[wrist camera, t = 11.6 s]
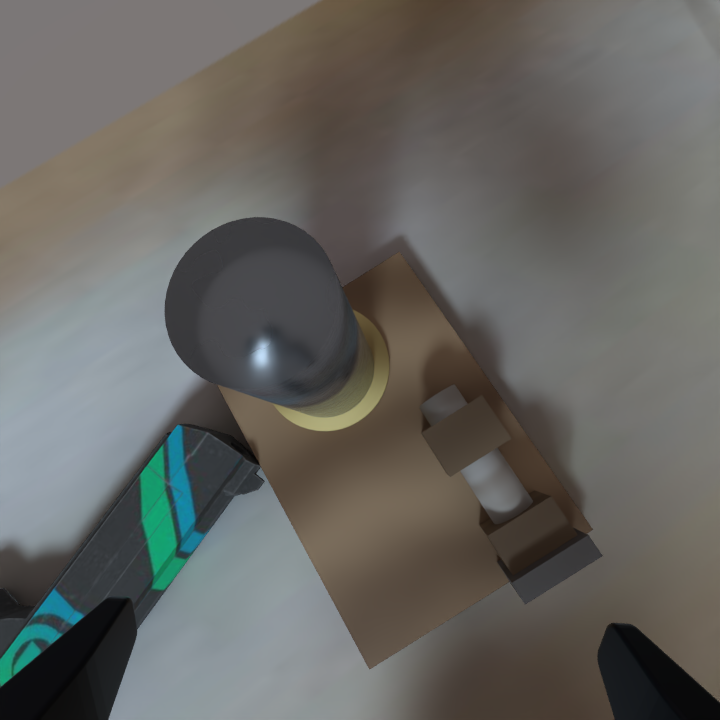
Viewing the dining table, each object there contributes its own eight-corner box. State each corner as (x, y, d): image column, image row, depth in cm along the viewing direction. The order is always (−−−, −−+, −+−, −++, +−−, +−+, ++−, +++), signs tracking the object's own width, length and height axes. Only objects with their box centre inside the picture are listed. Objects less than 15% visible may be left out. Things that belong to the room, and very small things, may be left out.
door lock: (582, 525, 21) (626, 544, 16) (372, 657, 21) (360, 711, 16) (400, 261, 24) (396, 220, 20) (219, 375, 24) (176, 358, 20)
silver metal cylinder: (392, 349, 21) (371, 264, 12) (342, 436, 21) (275, 423, 11) (309, 304, 22) (225, 190, 13) (259, 386, 22) (132, 334, 12)
